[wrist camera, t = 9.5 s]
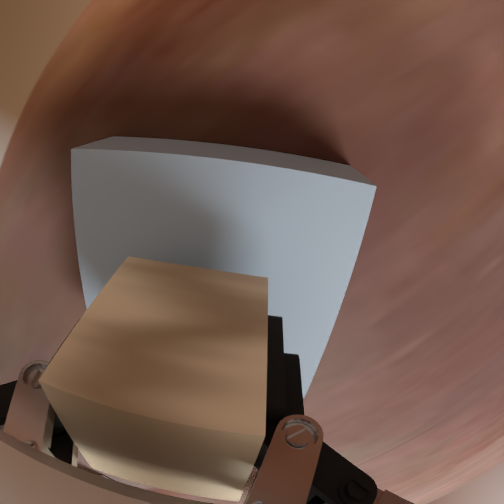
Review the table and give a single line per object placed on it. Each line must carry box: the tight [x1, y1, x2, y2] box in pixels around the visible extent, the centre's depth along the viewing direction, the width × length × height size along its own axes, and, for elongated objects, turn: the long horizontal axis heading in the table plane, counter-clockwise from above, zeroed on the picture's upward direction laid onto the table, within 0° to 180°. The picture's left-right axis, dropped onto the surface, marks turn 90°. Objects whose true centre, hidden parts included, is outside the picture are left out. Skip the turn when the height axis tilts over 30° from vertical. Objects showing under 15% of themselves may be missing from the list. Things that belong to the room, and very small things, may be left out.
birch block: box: [39, 256, 268, 501], centre depth 9 cm, size 5×5×6 cm
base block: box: [71, 136, 377, 398], centre depth 15 cm, size 12×12×4 cm
